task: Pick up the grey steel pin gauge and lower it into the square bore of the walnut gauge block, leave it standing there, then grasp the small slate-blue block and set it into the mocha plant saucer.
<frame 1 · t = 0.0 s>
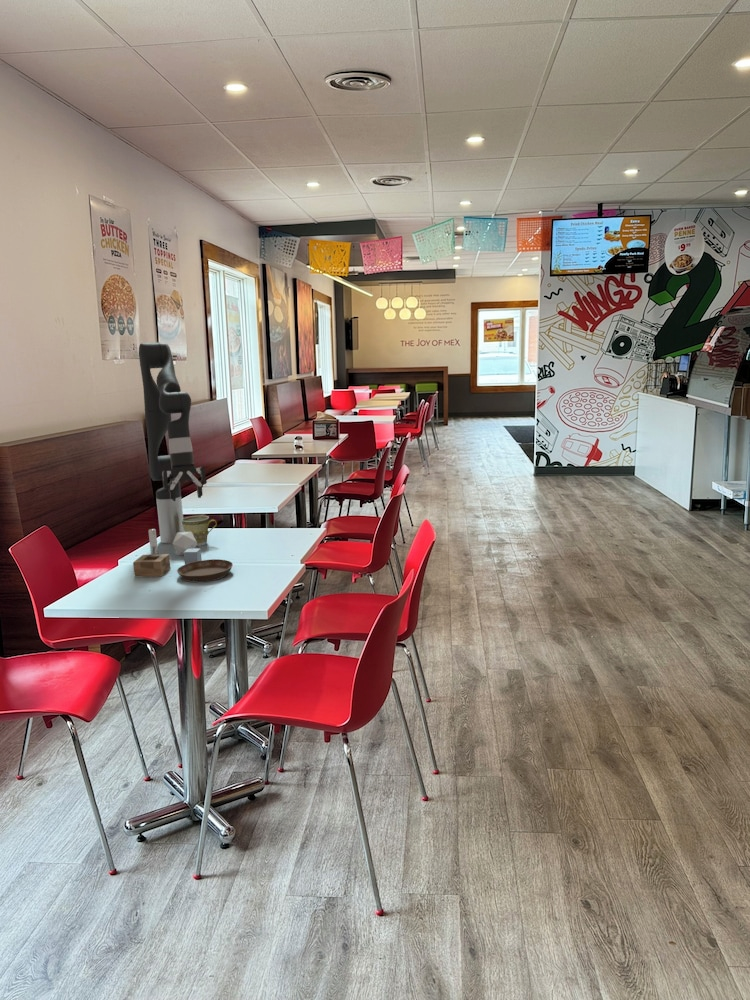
hand: (186, 499, 253), 22 cm above the table, tool pointing down, fingers open, 8 cm apart
slate block: (193, 564, 256), on the table
pin gauge: (155, 563, 259), on the table
ceramic cup: (201, 544, 283), on the table
die: (186, 554, 271), on the table
bore block: (152, 572, 248), on the table
plant saucer: (205, 576, 243), on the table
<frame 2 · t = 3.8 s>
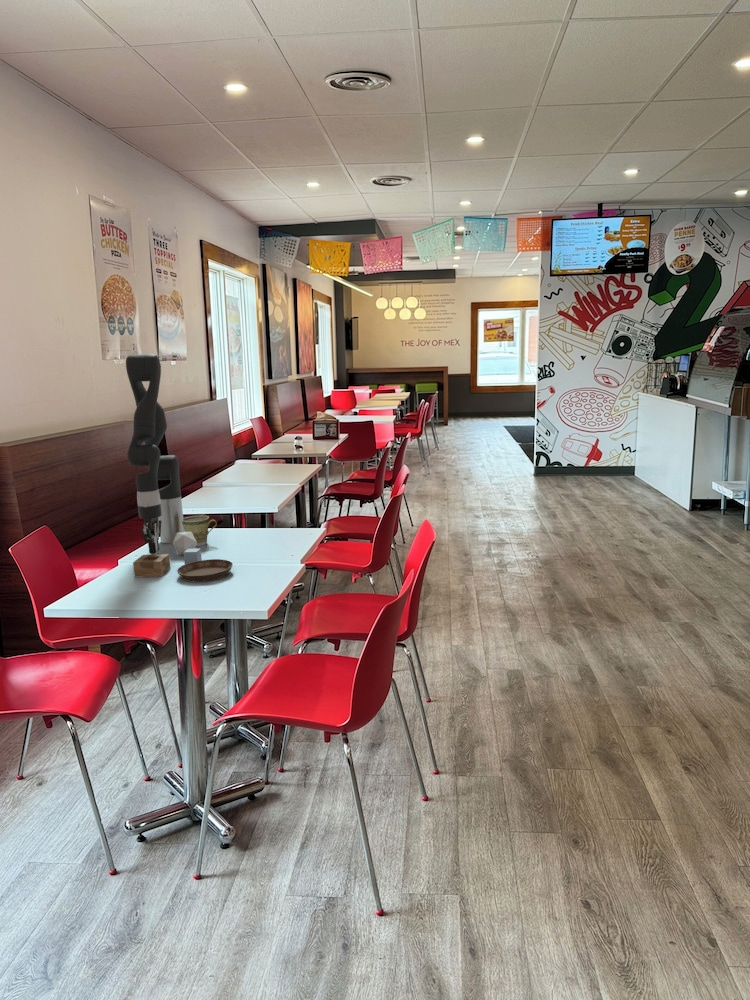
hand: (154, 552, 258), 4 cm above the table, tool pointing down, fingers closed on pin gauge, 2 cm apart
pin gauge: (155, 563, 259), on the table, touching gripper
everything else where it was.
when the fingers open (6 cm above the table, at t = 8.8 s): pin gauge stays where it is, resting on bore block.
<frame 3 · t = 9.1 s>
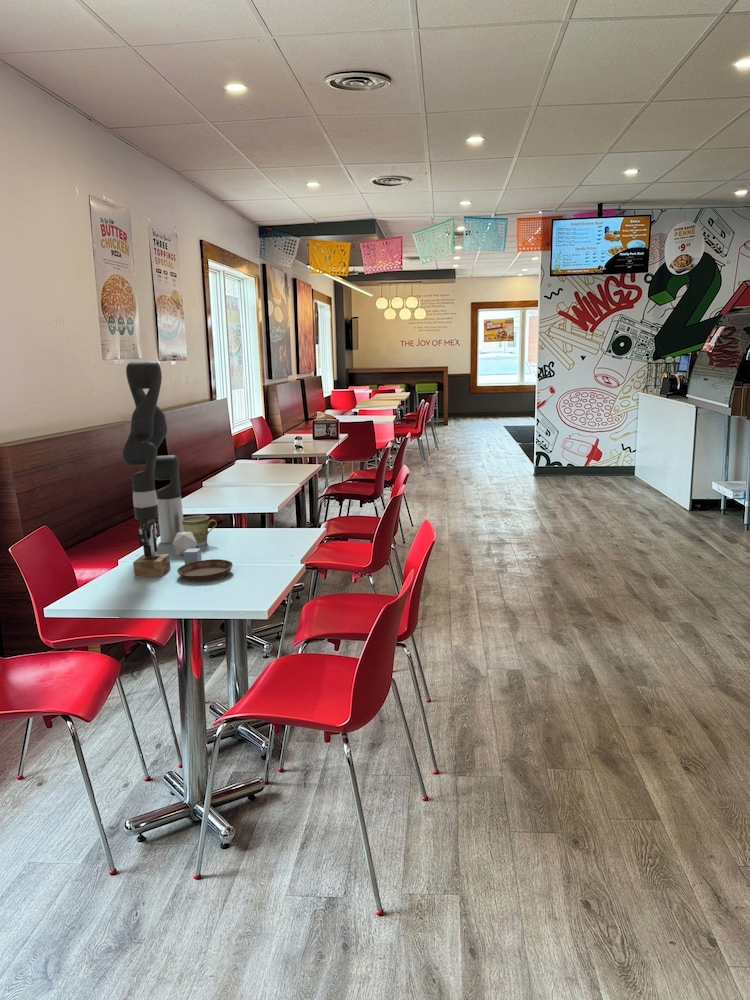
hand: (150, 554, 247), 6 cm above the table, tool pointing down, fingers open, 4 cm apart
pin gauge: (152, 569, 248), point 1 cm above the table, touching bore block
everything else where it was.
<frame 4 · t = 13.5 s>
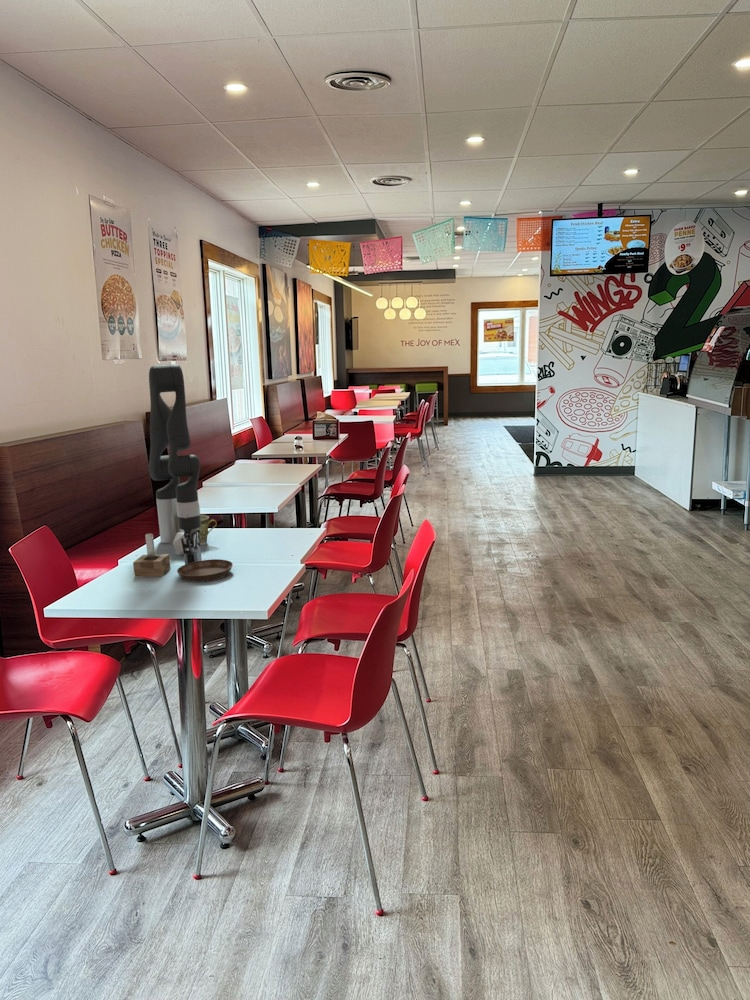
hand: (193, 562, 256), 1 cm above the table, tool pointing down, fingers closed on slate block, 4 cm apart
slate block: (193, 564, 256), on the table, touching gripper
everything else where it was.
when the fingers open (3 cm above the table, at t = 18.8 s): slate block stays where it is, resting on plant saucer.
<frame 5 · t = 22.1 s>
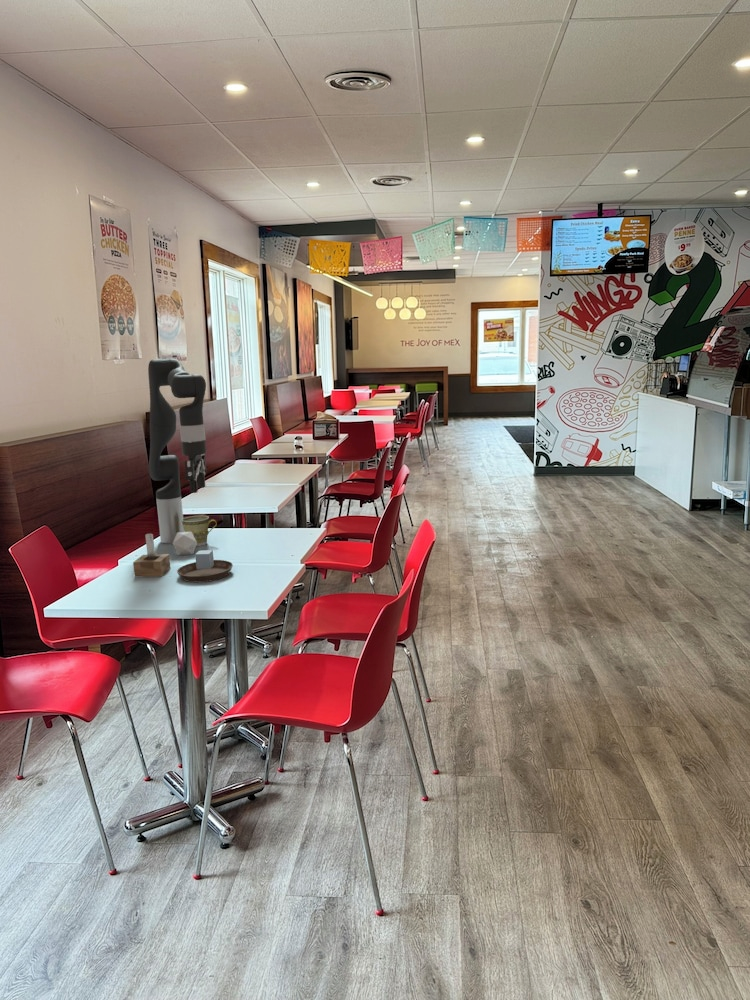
hand: (198, 490, 237), 28 cm above the table, tool pointing down, fingers open, 8 cm apart
slate block: (205, 567, 243), point 3 cm above the table, touching plant saucer
plant saucer: (205, 576, 243), on the table, touching slate block
everything else where it was.
at the end: slate block 0.2 cm from the plant saucer (horizontally); slate block point 2.6 cm above the table; pin gauge 0.2 cm off-centre on the bore block, point 1.0 cm above the bore block's base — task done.
